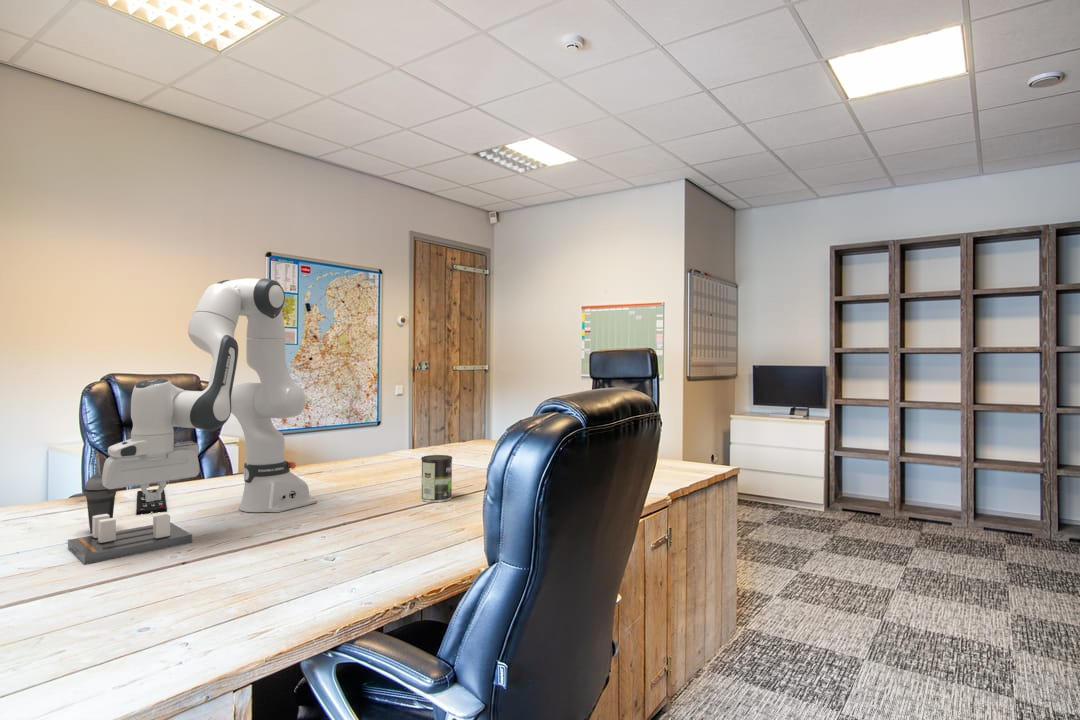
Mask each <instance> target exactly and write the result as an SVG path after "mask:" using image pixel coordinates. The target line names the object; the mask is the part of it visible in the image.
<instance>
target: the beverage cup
mask: <svg viewBox="0 0 1080 720" xmlns="http://www.w3.org/2000/svg"><path fill="white" fill-rule="evenodd" d="M100 464H101V463H100V456H96V465H97V473H96V474H93V475H92V476H90V477H89V478H88V480H86V481H87V482H86V483H85V486H84V490H83V491H84V495H85V498H86V505H87V506H86V507H87V515H88V524H89V525H88V526H89V532H90V534H92V516H96V515H102V514H108V515H110V518H114V510H115V500H116V495H117V490H118V488H116V489H107V488H106V487H104V486H103V484H102V474H103V472H101V465H100Z"/></svg>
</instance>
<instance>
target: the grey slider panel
mask: <svg viewBox="0 0 1080 720" xmlns="http://www.w3.org/2000/svg"><path fill="white" fill-rule="evenodd" d="M191 543H193V534H192V533H191V532H188V531H187V530H185V529H184V528H181V527H180V526H178V525H176V524H175V523H173V522H171V521H170V536H166V537H161V538H155V537H153V524H149V525H145V526H144V525H143V526H138V527H133V528H127V529H122V530H116V540H114V541H108V542H103V543H100V542H99V541H98V538H94V537H93V536H92V535H88V536H82V537H77V538H72V539H71V538H70V539H67V549H68V550H69V551H70V552H71V553H73V555H74V556H75V557H76V558H77V559H78V560H79V561H80V562H82V563H83V565H90V564H94V563H99V562H103V561H108V560H112V559H113V560H114V559H117V558H123V557H127V556H132V555H133V556H134V555H138V554H142V553H147V552H152V551H157V550H162V549H166V548H171V547H172V548H173V547H177V546H182V545H187V544H191Z"/></svg>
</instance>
